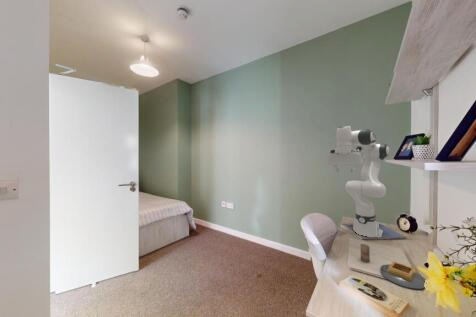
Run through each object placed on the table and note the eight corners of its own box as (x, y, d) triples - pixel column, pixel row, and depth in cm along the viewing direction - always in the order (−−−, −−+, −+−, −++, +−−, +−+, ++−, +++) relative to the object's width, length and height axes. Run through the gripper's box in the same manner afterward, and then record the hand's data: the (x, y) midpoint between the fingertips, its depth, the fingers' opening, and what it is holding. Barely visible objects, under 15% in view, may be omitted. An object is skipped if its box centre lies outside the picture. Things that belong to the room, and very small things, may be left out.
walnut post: (362, 257, 103) (362, 243, 103) (370, 260, 99) (370, 246, 100) (359, 260, 100) (359, 245, 100) (368, 263, 97) (367, 248, 97)
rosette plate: (386, 263, 96) (386, 255, 96) (429, 279, 83) (429, 269, 83) (375, 275, 87) (375, 266, 87) (422, 295, 74) (422, 284, 74)
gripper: (364, 149, 111) (365, 172, 111) (331, 151, 128) (331, 170, 127) (360, 149, 107) (361, 172, 107) (326, 151, 124) (326, 171, 124)
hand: (344, 171), depth 117 cm, fingers open, 8 cm apart
